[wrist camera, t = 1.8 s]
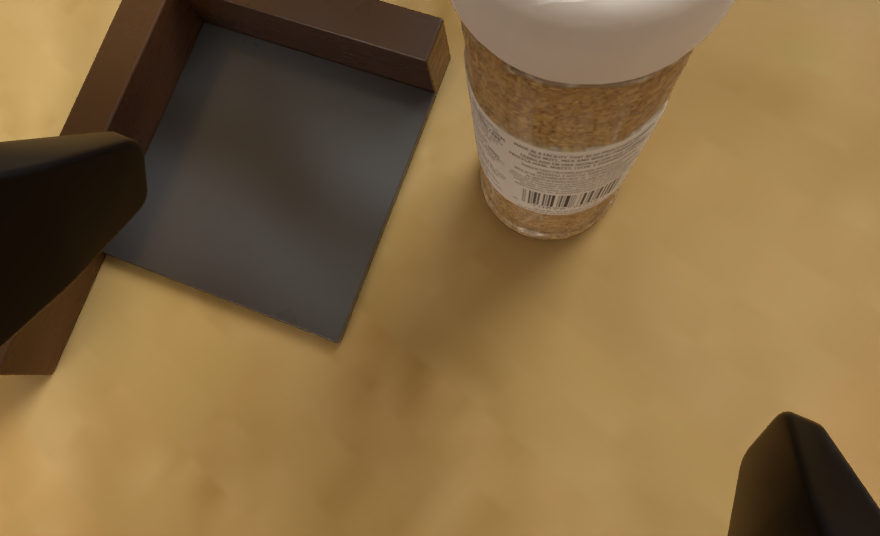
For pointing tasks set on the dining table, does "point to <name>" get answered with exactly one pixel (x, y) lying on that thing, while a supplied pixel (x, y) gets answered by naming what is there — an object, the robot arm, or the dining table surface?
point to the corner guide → (254, 150)
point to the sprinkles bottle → (570, 98)
